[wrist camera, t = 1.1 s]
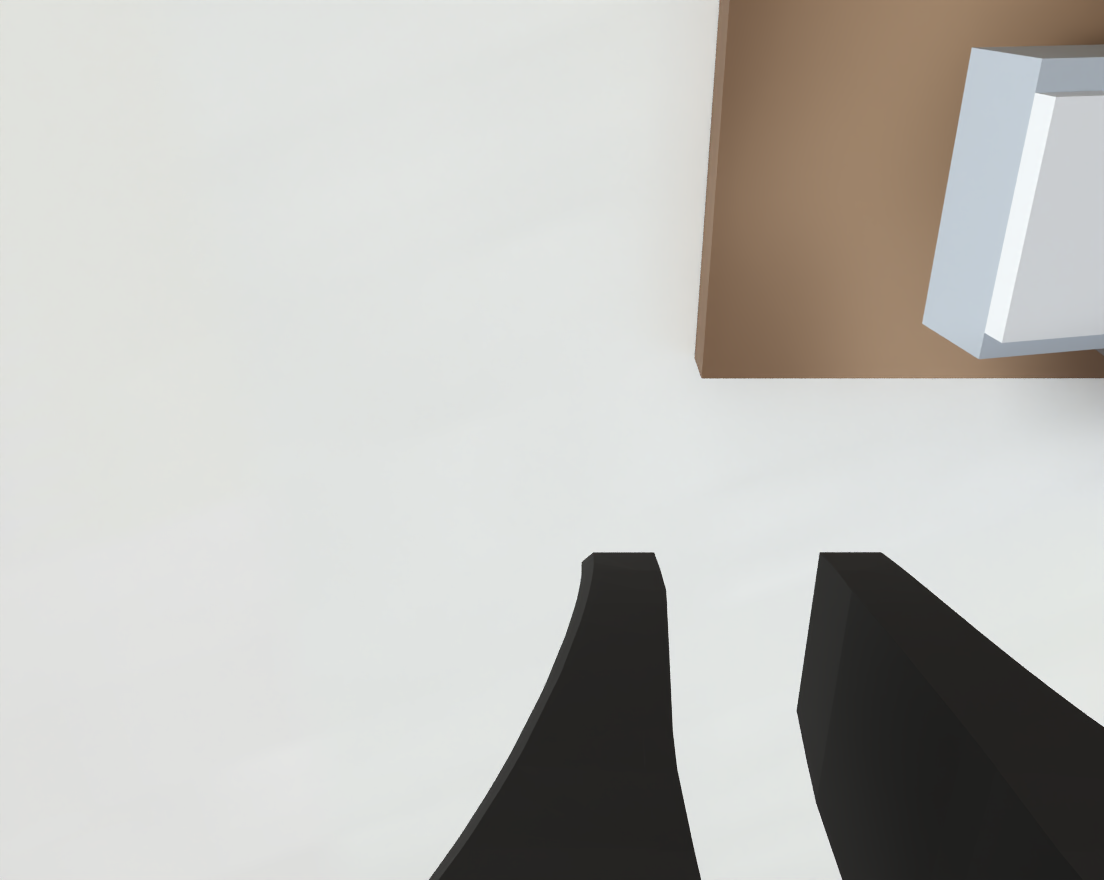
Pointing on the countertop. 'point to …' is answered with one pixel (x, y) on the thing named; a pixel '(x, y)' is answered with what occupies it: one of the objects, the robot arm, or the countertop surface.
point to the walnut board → (848, 183)
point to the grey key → (1024, 206)
